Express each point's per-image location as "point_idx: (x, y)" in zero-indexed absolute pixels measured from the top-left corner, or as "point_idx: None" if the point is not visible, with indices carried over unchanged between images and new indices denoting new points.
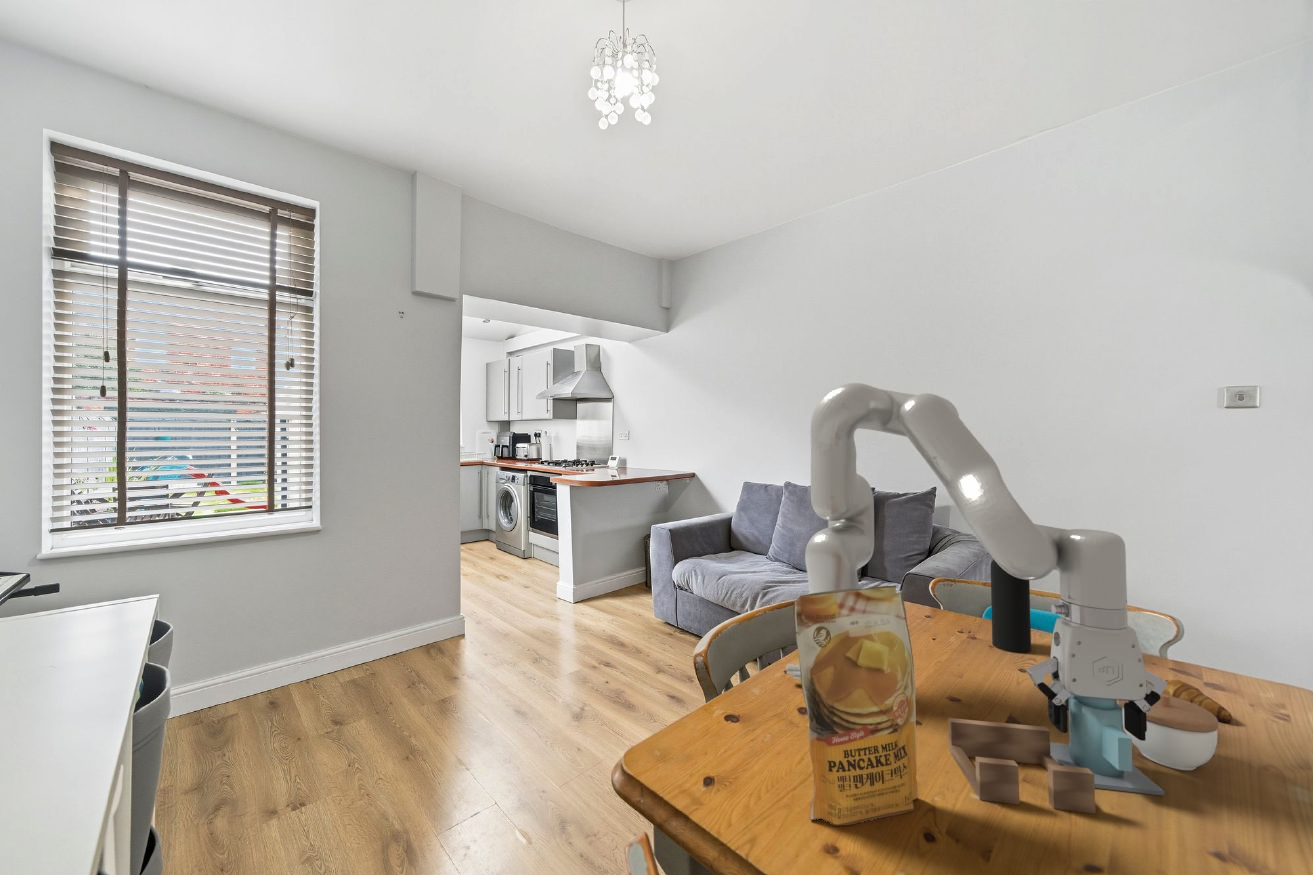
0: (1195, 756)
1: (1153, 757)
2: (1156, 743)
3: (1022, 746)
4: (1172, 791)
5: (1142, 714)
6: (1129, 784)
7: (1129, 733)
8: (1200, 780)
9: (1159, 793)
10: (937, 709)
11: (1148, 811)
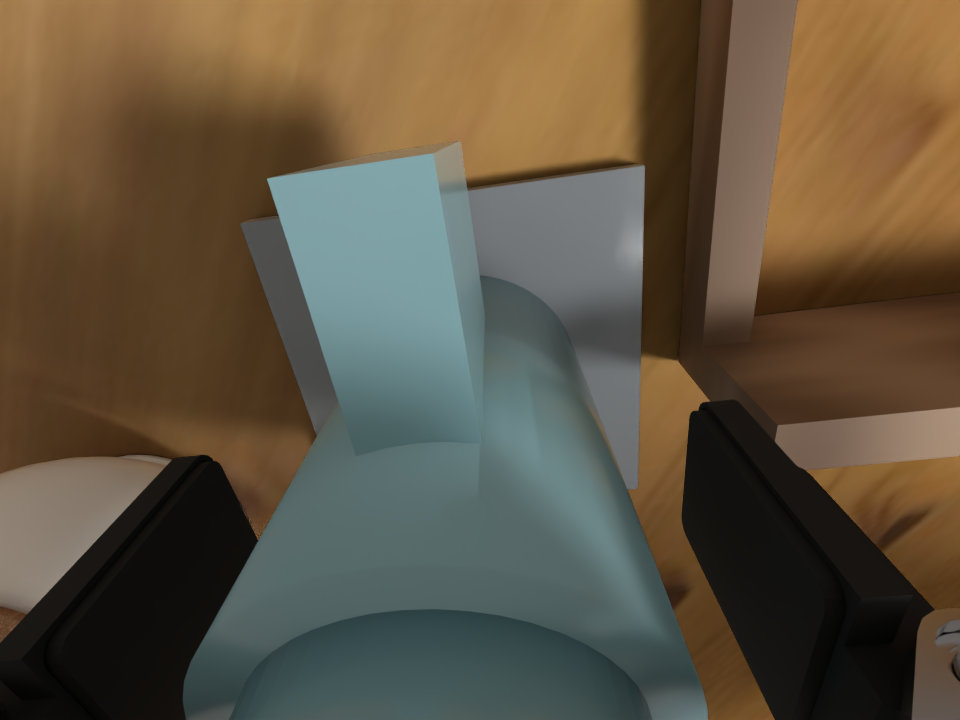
0: (6, 474)
1: None
2: None
3: (878, 342)
4: (206, 274)
5: (19, 644)
6: None
7: None
8: (82, 401)
9: (267, 218)
10: None
11: (375, 12)
